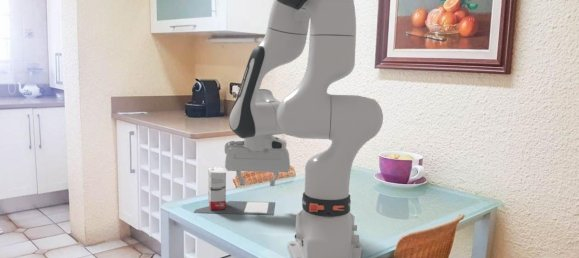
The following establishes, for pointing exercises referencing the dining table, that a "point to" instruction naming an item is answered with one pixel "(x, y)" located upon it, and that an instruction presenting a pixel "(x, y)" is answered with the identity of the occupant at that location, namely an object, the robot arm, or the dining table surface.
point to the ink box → (216, 188)
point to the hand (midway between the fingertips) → (257, 185)
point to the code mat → (242, 208)
